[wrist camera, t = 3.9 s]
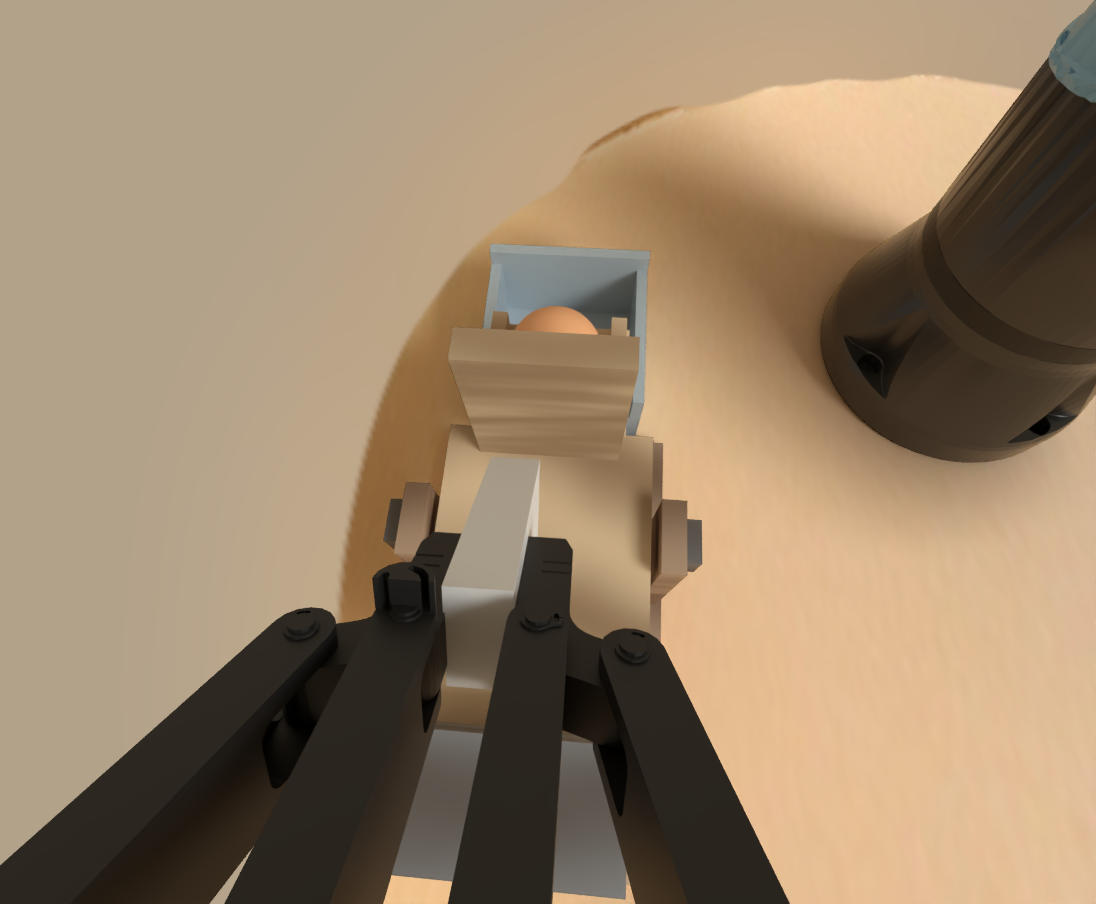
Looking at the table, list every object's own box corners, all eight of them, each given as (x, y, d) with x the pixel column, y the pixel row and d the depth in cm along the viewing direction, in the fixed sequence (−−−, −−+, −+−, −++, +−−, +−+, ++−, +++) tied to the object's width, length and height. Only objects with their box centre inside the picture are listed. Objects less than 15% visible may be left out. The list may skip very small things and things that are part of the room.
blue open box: (634, 438, 37) (646, 394, 31) (485, 429, 37) (470, 384, 32) (638, 311, 40) (649, 250, 34) (501, 304, 41) (490, 243, 35)
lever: (640, 875, 22) (690, 1000, 13) (394, 850, 22) (286, 955, 14) (651, 345, 30) (686, 205, 21) (470, 335, 30) (431, 195, 21)
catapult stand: (663, 717, 31) (707, 732, 21) (415, 695, 32) (348, 700, 22) (665, 448, 37) (702, 361, 27) (454, 435, 37) (414, 345, 27)
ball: (534, 327, 29) (530, 273, 25) (612, 356, 28) (620, 306, 24) (497, 395, 27) (487, 350, 24) (578, 429, 27) (580, 387, 23)
